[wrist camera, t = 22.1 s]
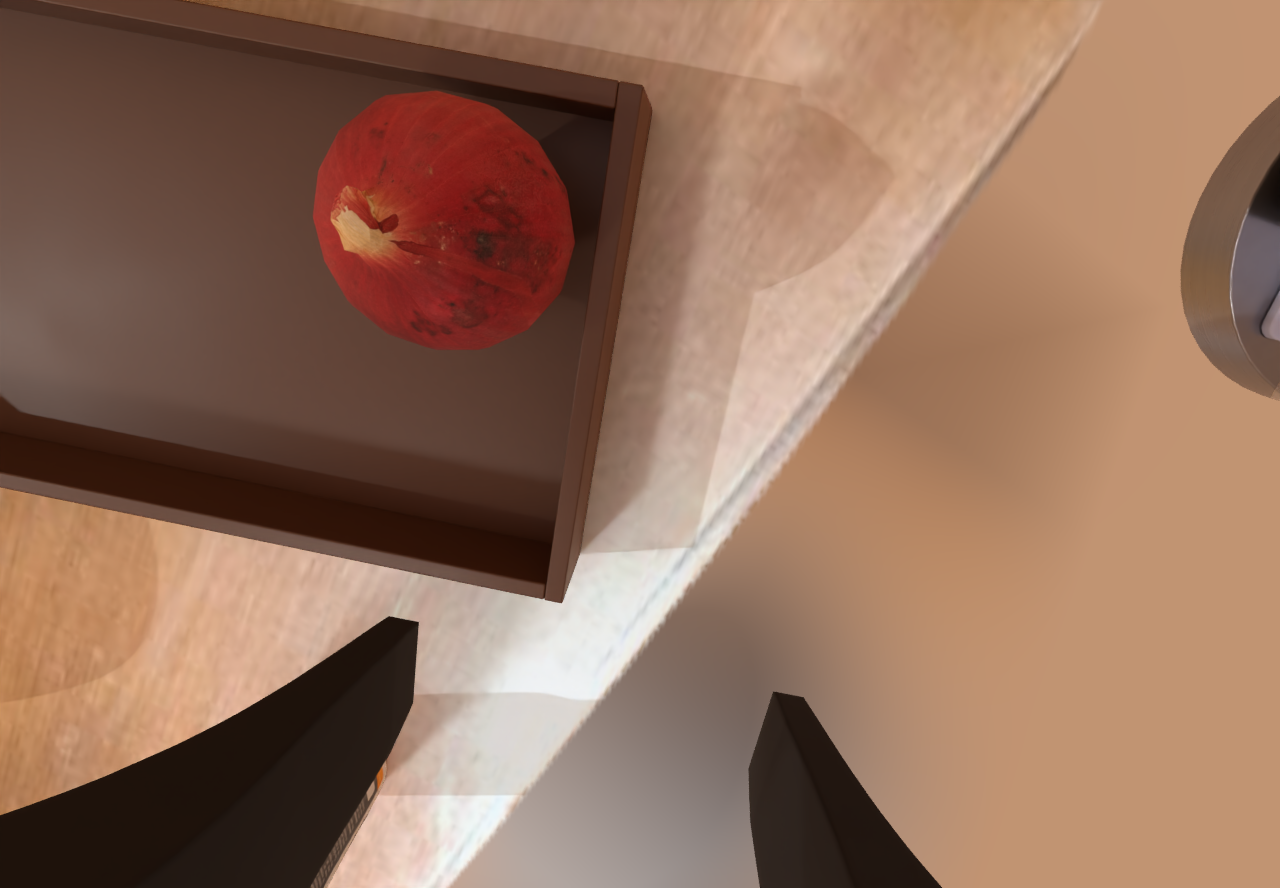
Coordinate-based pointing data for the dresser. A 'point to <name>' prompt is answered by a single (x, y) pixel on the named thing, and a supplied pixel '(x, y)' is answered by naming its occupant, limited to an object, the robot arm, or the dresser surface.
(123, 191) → the brown dish
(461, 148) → the pomegranate
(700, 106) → the dresser surface
